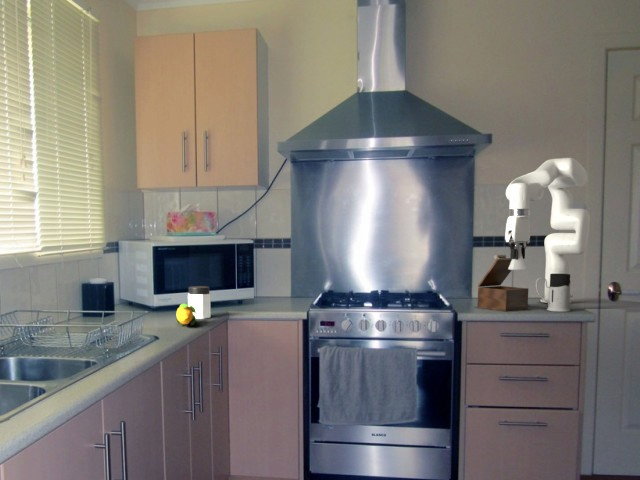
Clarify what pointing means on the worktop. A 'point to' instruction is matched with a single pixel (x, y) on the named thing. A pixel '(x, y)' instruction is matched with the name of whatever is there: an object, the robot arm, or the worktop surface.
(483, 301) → the chest
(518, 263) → the flask
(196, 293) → the jar
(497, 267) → the lid
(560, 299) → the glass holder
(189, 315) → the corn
